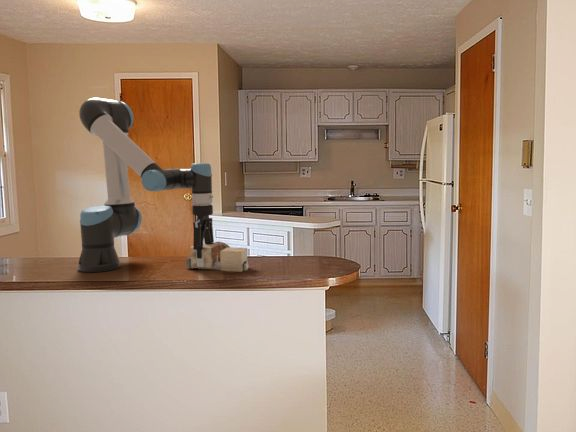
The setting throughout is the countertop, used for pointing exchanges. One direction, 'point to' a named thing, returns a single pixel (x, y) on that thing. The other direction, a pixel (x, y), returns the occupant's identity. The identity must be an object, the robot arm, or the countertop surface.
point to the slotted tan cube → (206, 255)
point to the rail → (228, 260)
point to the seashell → (221, 247)
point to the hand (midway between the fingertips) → (204, 264)
